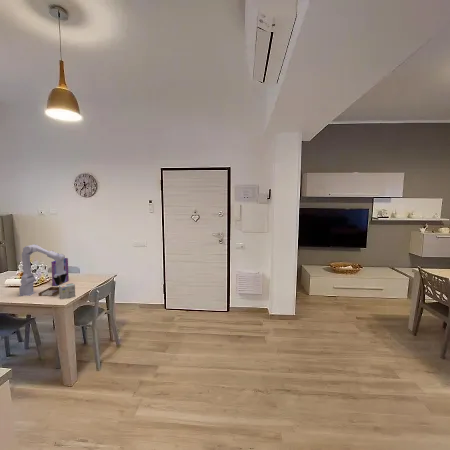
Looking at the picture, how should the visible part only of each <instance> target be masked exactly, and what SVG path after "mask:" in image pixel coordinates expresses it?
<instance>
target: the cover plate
mask: <svg viewBox="0 0 450 450" xmlns="http://www.w3.org/2000/svg"><path fill="white" fill-rule="evenodd" d="M56 291H58V290H47V291H45V292H43V293H42V296H41V297H54V296H53V293H54V292H56Z"/></svg>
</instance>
